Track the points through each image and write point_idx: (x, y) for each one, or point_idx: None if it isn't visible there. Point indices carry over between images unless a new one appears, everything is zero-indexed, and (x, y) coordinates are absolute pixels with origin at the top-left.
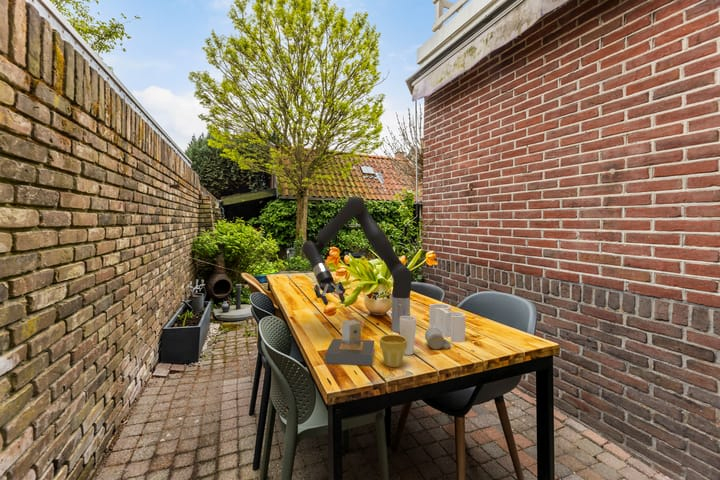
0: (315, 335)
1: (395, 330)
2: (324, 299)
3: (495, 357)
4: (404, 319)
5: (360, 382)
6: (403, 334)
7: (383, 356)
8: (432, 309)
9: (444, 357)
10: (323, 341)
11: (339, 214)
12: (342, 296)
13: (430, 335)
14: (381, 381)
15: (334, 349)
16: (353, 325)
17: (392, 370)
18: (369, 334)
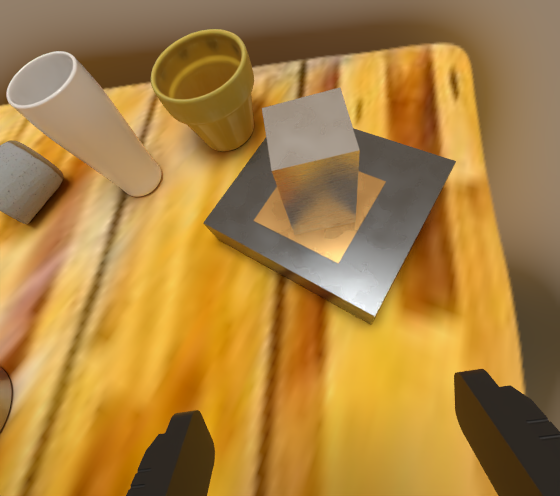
0: None
1: (5, 392)
2: (551, 442)
3: (3, 105)
4: (41, 119)
5: (367, 65)
6: (122, 117)
7: (250, 114)
8: None
9: None
10: (398, 443)
11: None
12: (160, 476)
13: (26, 157)
14: (313, 61)
15: (406, 184)
16: (313, 99)
17: (256, 99)
18: (126, 424)
